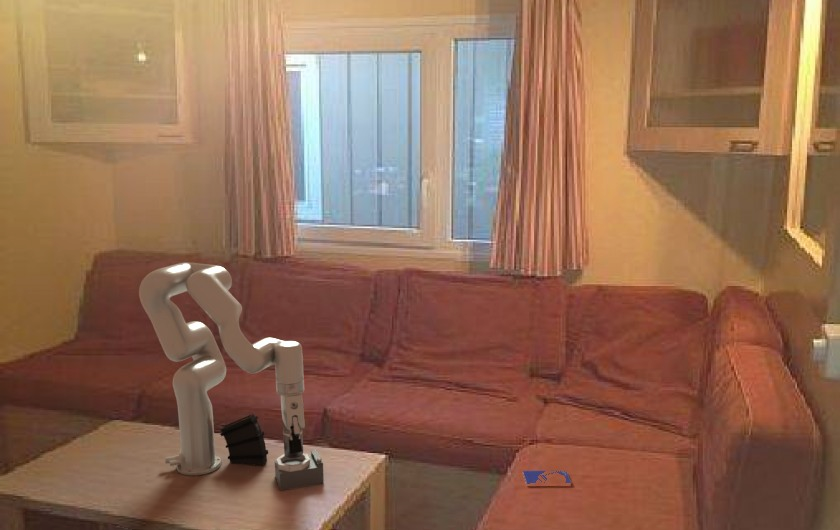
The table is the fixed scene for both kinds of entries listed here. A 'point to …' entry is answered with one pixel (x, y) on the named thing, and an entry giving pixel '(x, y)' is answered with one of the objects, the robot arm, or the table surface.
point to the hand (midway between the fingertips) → (293, 447)
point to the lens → (286, 443)
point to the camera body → (299, 471)
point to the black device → (245, 441)
